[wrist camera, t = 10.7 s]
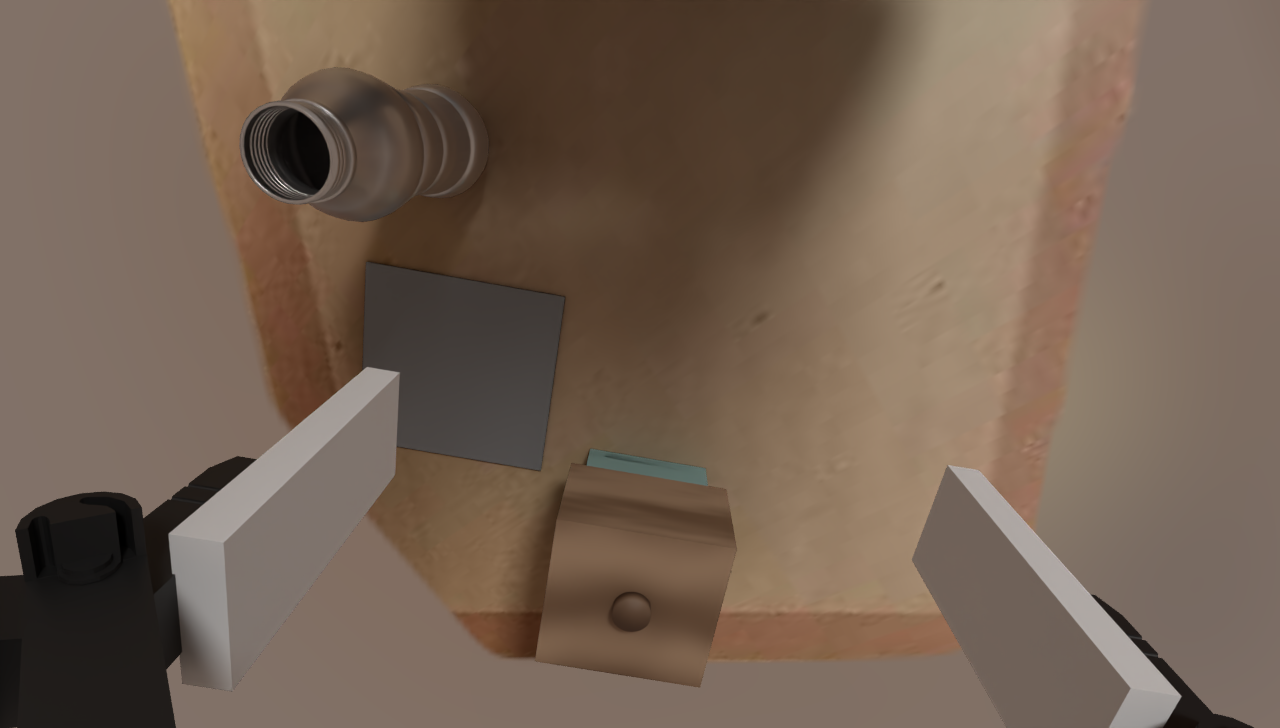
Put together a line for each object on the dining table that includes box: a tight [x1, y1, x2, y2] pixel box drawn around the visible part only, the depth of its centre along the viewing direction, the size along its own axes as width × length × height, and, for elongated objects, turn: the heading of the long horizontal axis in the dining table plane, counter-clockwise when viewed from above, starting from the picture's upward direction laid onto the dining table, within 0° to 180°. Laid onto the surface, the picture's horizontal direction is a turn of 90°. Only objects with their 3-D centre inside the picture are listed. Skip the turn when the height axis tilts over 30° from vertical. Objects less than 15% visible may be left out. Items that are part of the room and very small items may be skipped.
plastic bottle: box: [240, 67, 489, 222], centre depth 34 cm, size 6×7×20 cm
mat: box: [362, 262, 565, 471], centre depth 49 cm, size 14×14×1 cm
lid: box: [535, 463, 737, 687], centre depth 45 cm, size 11×11×8 cm
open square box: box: [587, 449, 708, 486], centre depth 51 cm, size 9×9×4 cm
